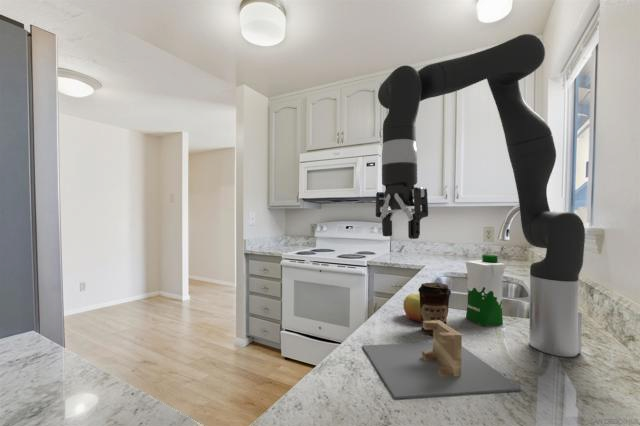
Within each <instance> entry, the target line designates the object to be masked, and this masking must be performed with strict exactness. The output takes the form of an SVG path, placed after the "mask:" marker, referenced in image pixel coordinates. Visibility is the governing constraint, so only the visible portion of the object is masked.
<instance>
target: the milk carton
mask: <svg viewBox="0 0 640 426" xmlns="http://www.w3.org/2000/svg"><path fill="white" fill-rule="evenodd" d="M498 257H499V256H498V255H496V254H482V257H481V258H482V260H481V259H479V260H474V259H473V260H465V262H464V263H465V267H466V271H467V303H466V304H467V305H466V315H465V319H467V320H469V321H471V322H474V323H476V324H479V325H481V326H483V327H489V326H497V325H498V326H500V325H503V324H504V323H503V322H504V320H503V318H504V317H503V276H504V272H505V268H506V263H501V262H498V259H499V258H498Z"/></svg>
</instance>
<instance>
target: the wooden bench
mask: <svg viewBox="0 0 640 426" xmlns="http://www.w3.org/2000/svg"><path fill="white" fill-rule="evenodd" d="M423 328H424V329H425V330H431V329H433V335H432V343H433V350H432V351H422V358H423V359H424V360H437V361H438V362H439V363H440V364H441V365H442V366H438V374H439V375H440V376H441V377H453V376H461V348H462V346H463V345H462V344H463V343H462V342H463V341H462V339H463V338H462V334H461V333H460V332H458V331H457V330H455V329H454V328H452V327H450V326H449V325H448V324H447V323H446V324H444V323H443V322H441V321H440V320H434V321H423Z"/></svg>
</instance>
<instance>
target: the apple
mask: <svg viewBox="0 0 640 426" xmlns="http://www.w3.org/2000/svg"><path fill="white" fill-rule="evenodd" d="M403 310H404V312H405V315H406V316H407V317H408V318H409V319H411V320H412V321H415V322H419V323H421V310H420V295H419V293H411V294H409V295H407V296H406V297H405V298H404V300H403Z"/></svg>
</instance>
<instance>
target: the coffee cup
mask: <svg viewBox="0 0 640 426" xmlns="http://www.w3.org/2000/svg"><path fill="white" fill-rule="evenodd" d="M418 294H419V295H420V310H421V322H420V323H421V332H422V333H424V334H426V335H428V336H429V335H430V336H433V329H431V330H425V329H424V328H423V321H434V320H440V321H441V322H443V323H444V324H446V325H447V321H448V320H447V318H448V313H449V306H450V305H449V303H450V297H451V294H452V290H451V289H449V285H447V284H445V283H441V282H425V283H424V282H422V283H421V286H420V287H419V288H418Z"/></svg>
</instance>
